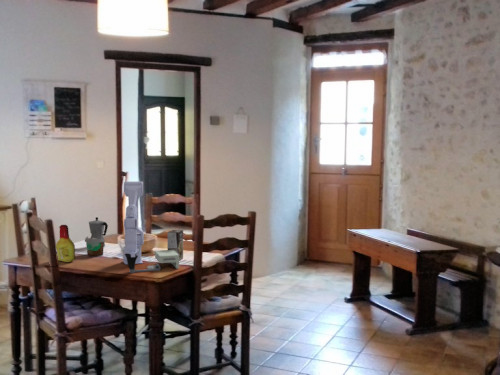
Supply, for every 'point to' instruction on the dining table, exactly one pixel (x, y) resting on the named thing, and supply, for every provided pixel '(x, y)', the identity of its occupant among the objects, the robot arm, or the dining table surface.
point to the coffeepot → (98, 229)
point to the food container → (94, 246)
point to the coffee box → (176, 242)
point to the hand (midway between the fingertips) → (131, 268)
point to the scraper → (146, 269)
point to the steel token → (152, 267)
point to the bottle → (65, 246)
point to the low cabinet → (168, 257)
